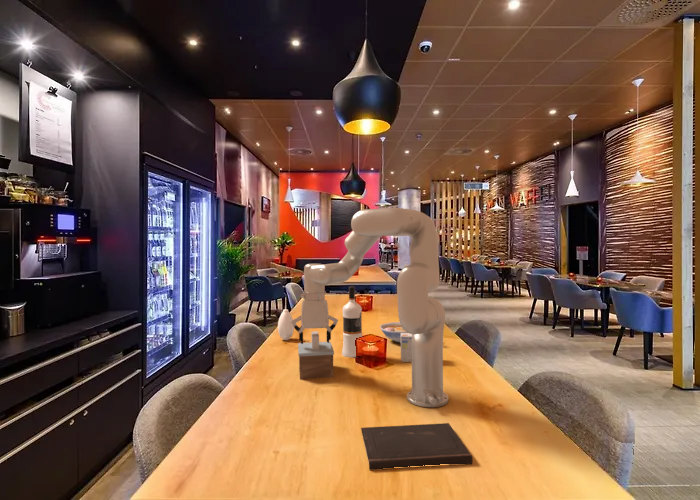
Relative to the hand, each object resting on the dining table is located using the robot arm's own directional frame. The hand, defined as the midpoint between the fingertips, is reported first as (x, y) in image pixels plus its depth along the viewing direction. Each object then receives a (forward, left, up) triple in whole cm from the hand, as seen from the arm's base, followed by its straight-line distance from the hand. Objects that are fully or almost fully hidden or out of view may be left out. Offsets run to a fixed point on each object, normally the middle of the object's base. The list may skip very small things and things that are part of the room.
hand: (315, 342), depth 147 cm
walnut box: (0, 0, -12) cm, 12 cm away
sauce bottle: (+54, +12, -12) cm, 57 cm away
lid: (0, 0, -4) cm, 4 cm away
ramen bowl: (+40, -45, -12) cm, 61 cm away
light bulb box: (+10, -41, -12) cm, 44 cm away
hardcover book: (-57, -20, -13) cm, 62 cm away
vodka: (+20, -17, -12) cm, 29 cm away
